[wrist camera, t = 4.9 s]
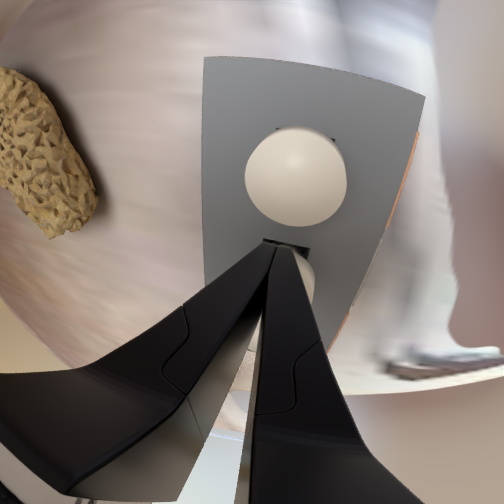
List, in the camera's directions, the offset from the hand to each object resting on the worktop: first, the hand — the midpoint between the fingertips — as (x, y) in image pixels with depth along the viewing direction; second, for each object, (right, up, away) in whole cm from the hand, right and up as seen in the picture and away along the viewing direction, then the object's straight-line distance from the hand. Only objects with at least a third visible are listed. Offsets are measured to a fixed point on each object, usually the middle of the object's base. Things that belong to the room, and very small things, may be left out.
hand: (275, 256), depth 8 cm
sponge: (-21, +12, +12) cm, 27 cm away
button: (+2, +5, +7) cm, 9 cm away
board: (+2, +1, +13) cm, 13 cm away
